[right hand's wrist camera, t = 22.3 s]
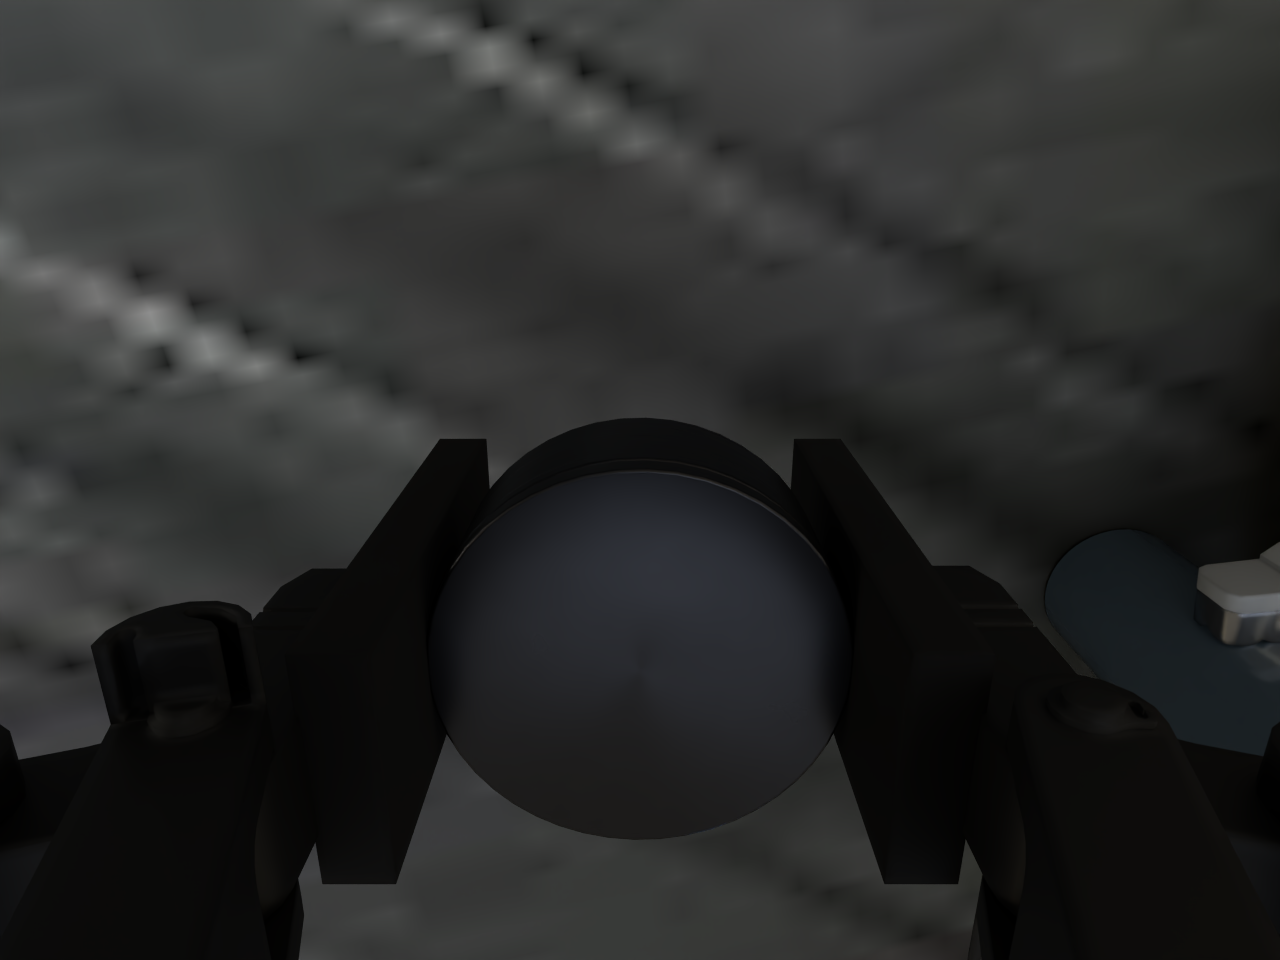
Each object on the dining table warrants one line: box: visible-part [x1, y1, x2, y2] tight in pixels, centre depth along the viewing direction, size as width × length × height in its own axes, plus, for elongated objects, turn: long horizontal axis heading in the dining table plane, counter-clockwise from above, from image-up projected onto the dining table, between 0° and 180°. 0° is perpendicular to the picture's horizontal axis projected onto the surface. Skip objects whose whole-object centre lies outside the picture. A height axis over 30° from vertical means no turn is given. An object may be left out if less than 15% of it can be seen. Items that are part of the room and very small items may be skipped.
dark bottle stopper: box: [426, 418, 854, 840], centre depth 11 cm, size 5×5×2 cm
